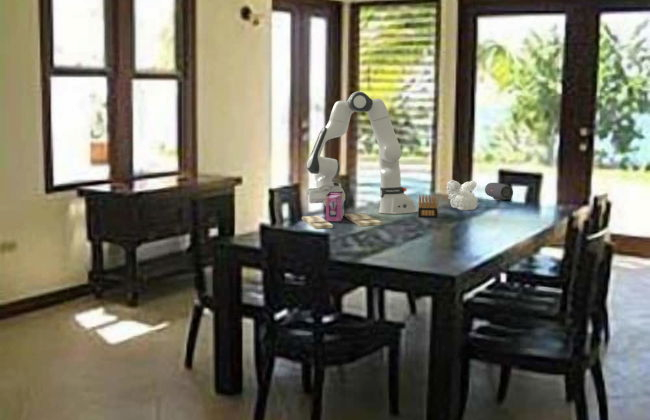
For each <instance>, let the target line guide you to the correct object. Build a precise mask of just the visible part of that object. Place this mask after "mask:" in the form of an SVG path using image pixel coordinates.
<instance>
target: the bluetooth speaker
mask: <svg viewBox="0 0 650 420" xmlns="http://www.w3.org/2000/svg"><path fill="white" fill-rule="evenodd" d="M484 193H485V194H486V195H487V196H489V197H491V198H492V199H493V200H496V201H505V200H509V199H511V198H512V197H513V195H514V191H513V188H512V187H511V186H510V185H508V184H504V183H500V182H489V183H487V184H486V186H485V187H484Z"/></svg>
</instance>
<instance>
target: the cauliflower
mask: <svg viewBox="0 0 650 420" xmlns="http://www.w3.org/2000/svg"><path fill="white" fill-rule="evenodd" d="M477 185H478V183H477V182H476V181H475V180H469V181H466V182H464V183H463V184H461V183H460V182H459V181H456V180H454V179H450V180H449V181H447V183H446V190H447V195H448V196H447V199H448V200H450V202H449V204H450V205H451V208H454V209H457V210H460V211H472V210H476V209H477V207H478V205H479V204H480V203H479V202H478V201H479V199H478V198H477V197H476V195H475V193H474V192H473V193H472V191H474V190H475V189H476V187H477Z"/></svg>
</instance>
